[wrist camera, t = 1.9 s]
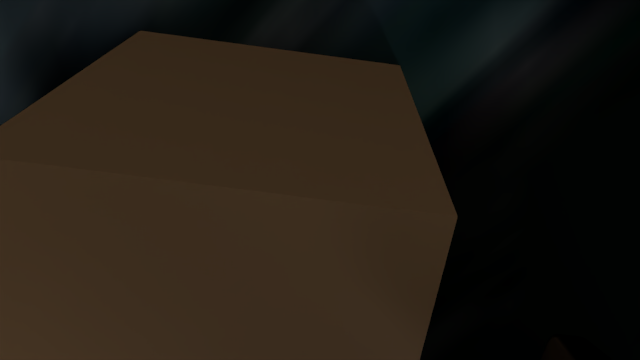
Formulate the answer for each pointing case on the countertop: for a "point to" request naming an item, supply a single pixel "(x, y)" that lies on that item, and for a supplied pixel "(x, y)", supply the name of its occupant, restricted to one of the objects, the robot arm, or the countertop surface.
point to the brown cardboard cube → (220, 209)
